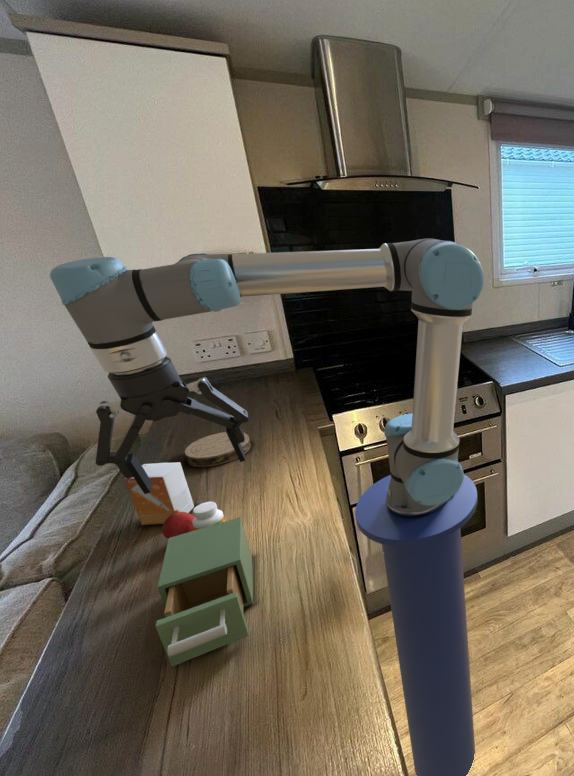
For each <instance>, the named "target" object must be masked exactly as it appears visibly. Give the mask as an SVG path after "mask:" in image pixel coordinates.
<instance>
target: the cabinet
mask: <svg viewBox="0 0 574 776" xmlns="http://www.w3.org/2000/svg"><path fill="white" fill-rule="evenodd" d="M225 521H226V522H222V523H219V524H215V525H212V526H209V527H205V528H202V529H198V530H195V531H191V532H188V533H184V534H181V535H178V536H174V537H171V538H169V539H167V544H166V549H165V551H164V558H163V561H162V566H161V570H160V574H159V578H158V583H157V590H158V592H159V595H160V598H161V600H162V603H163V605H164V608H165V607H166V602H167V597H168V592H169V587H171V586H174V585H177V584H180V583H183V582H186V581H189V580H192V579H194V578H197V577H200V576H203V575H206V574H209V573H212V572H215V571H218V570H221V569H224V568H227V567H230V566H233V565H236V566H237V569H238V573H239V576H240V580H241V583H242V586H243V590H244V595H243V608H246V607H249V606H251V605H253V604H254V579H253V577H254V576H253V575H254V573H253V570H254V569H253V556H252V552H251V551H252V550H251V548H250V543H249V540H248V537H247V534H246V530H245V527H244V522H243V519H242V517H241V516H240V517H237V518H233V519H230V520H225Z"/></svg>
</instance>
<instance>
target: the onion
mask: <svg viewBox="0 0 574 776" xmlns="http://www.w3.org/2000/svg"><path fill="white" fill-rule="evenodd" d="M194 518H195V516H194V515H193V514H191V513H190V512H189V513H187V512H179V510H177V509H176V510H174V511H173V513H172V514H171V515H170V516H169V517H168V518H167V519H166V520H165V522H164V524H162V529H161V531H162V535H163V537H164V538H165V539H167V540H168V539H169V538H171V537H174V536H178V535H181V534H184V533H188V532H191V531H195V530H194V527H193V519H194Z"/></svg>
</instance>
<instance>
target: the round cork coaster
mask: <svg viewBox="0 0 574 776" xmlns="http://www.w3.org/2000/svg"><path fill="white" fill-rule="evenodd" d="M243 433H244V437H245V441H244V442H242V443H240V444H241V446H242V448H243V450H244V452H245V454H246V453H248V452H249V451H250V449H251V446H252V444H251V440H250V436H249V435H248V433H246V432H244V431H243ZM184 454H185V457H186V461H187V464H188V465H190V466H192V467H197V468H204V467H205V468H206V467H214V466H219V465H223V464H226V463H229V462H233V461H235V460H237V459H239V458H238V456H237V454H236V452H235V450H234V448H233V446H232V444H231V441H230V439H229V437H228V435H227V433H226V431H224V432H218V433H214V434H213V433H212V434H210V435H207V436H204V437H201V438H199V439H197V440H195V441H193V442H191V443H190V444H189V445H188V446H187V447H185V450H184Z"/></svg>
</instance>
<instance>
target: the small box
mask: <svg viewBox="0 0 574 776" xmlns="http://www.w3.org/2000/svg"><path fill="white" fill-rule="evenodd" d="M141 465H142V467H143V469H144V470H145V472H146V473H147V475H148V477H149V478H150V480H151V481H152V488H151V492H150V493H147V494H144V492H143V491H142V489H141V488H140V486H139V485H138V483H137V482H136V480H135V479H134V477H132V478H129V479H127V478H125V477H124V481H125V482H126V486H127V489H128V490H129V491H128V492H129V494H130V497H131V499H132V502H133V505H134V508H135V511H136V513H137V516H138V518H139V522H140V525H141V526H146V525H147V526H148V525H163V524H164V522H165V520H166V519H167V518H168V517H169V516H170V515H171V514H172V513H173V511H174V510H176V509H177V510H179V512H187V513H189V514H190V512H191V511H193V510H194V508H195V504H194V501H193V497H192V494H191V491H190V488H189V486H188V482H187V479H186V476H185V473H184V470H183V466H182V463H181V462H180V461H179V462H156V463H143V464H141Z"/></svg>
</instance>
